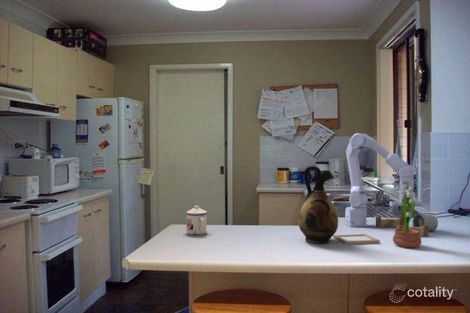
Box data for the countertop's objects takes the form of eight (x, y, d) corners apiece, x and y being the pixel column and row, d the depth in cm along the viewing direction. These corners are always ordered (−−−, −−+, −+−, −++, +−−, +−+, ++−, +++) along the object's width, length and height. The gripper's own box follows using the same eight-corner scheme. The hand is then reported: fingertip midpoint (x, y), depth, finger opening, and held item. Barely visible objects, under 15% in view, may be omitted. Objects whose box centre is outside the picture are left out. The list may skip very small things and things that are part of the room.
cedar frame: (399, 236, 161) (399, 225, 160) (375, 226, 182) (375, 217, 182) (428, 236, 162) (428, 225, 162) (401, 226, 183) (401, 216, 183)
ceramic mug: (439, 231, 170) (439, 214, 170) (424, 233, 168) (424, 215, 168) (421, 227, 181) (421, 211, 181) (407, 228, 178) (407, 212, 178)
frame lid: (346, 244, 146) (346, 241, 146) (333, 238, 157) (333, 235, 157) (379, 243, 149) (379, 240, 149) (364, 236, 160) (364, 233, 160)
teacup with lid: (183, 231, 168) (183, 205, 168) (202, 229, 173) (202, 203, 172) (192, 237, 158) (193, 209, 158) (213, 235, 162) (213, 207, 162)
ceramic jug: (342, 239, 155) (343, 165, 154) (331, 247, 142) (332, 167, 141) (302, 234, 164) (303, 164, 163) (288, 242, 150) (289, 165, 150)
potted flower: (426, 251, 138) (427, 181, 137) (396, 249, 140) (397, 181, 139) (417, 243, 150) (418, 179, 149) (390, 241, 152) (391, 178, 151)
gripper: (395, 193, 167) (395, 224, 167) (427, 193, 168) (426, 223, 169) (387, 191, 174) (387, 221, 174) (417, 191, 175) (417, 220, 176)
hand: (405, 222), depth 172 cm, fingers closed
